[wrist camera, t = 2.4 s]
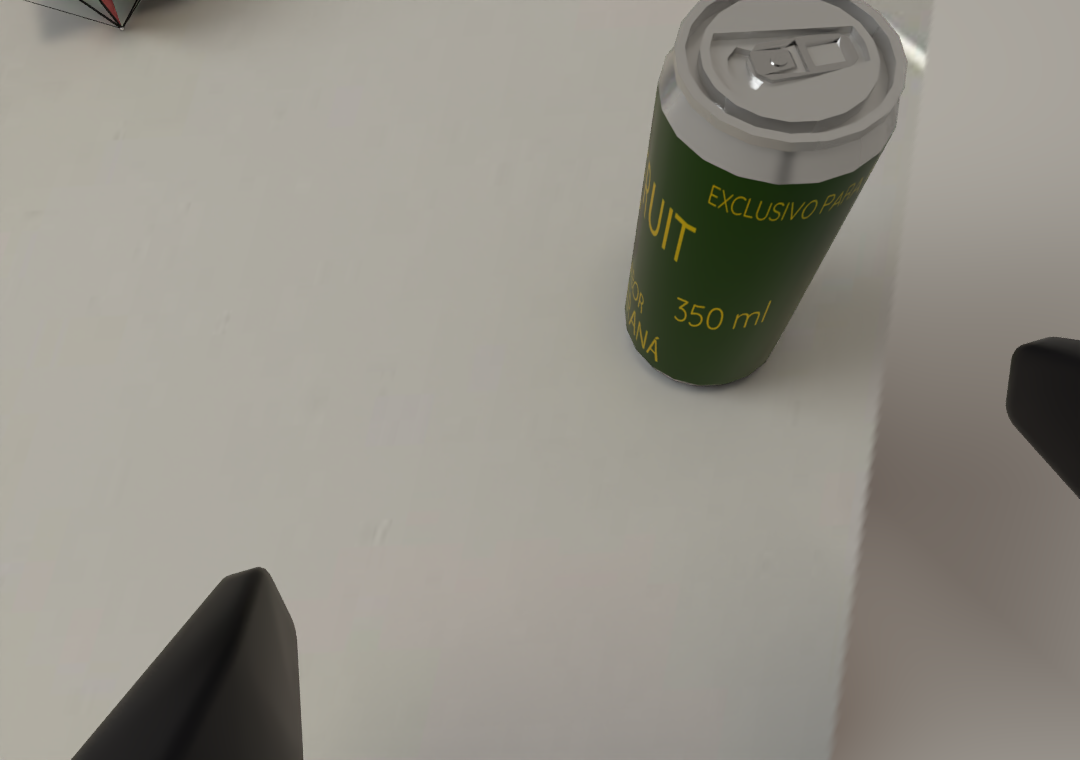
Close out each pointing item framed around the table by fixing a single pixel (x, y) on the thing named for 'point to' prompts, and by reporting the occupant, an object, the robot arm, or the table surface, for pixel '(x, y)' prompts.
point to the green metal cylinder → (753, 173)
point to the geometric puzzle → (109, 6)
